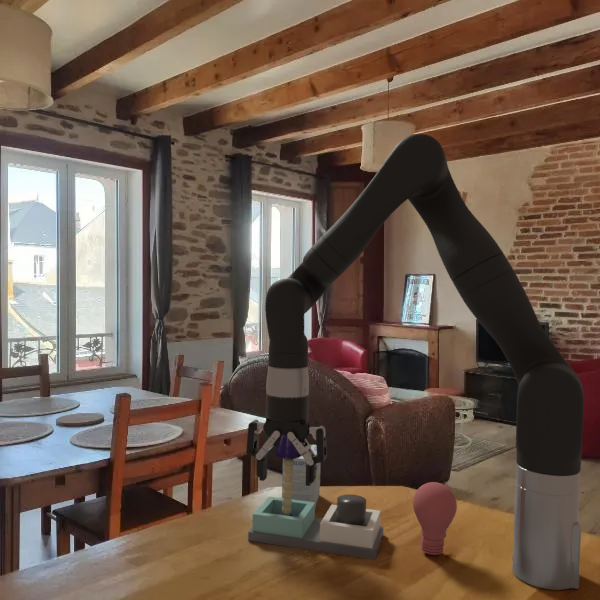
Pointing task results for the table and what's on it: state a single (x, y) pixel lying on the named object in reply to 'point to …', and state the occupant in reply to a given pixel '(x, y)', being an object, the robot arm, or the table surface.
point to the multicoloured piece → (320, 526)
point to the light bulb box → (304, 480)
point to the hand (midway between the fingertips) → (285, 482)
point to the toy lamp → (287, 471)
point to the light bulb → (434, 515)
